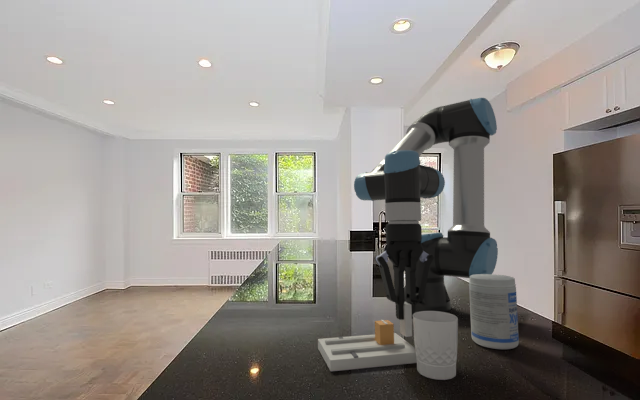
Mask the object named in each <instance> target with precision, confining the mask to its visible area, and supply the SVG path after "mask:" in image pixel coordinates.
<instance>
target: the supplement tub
mask: <svg viewBox="0 0 640 400" xmlns="http://www.w3.org/2000/svg"><path fill="white" fill-rule="evenodd" d="M516 285H517V284H516V280H515V278H514V276H511V275H504V274H494V273H492V274H475V275H471V276H470V278H469V282H468V287H469V289H468V290H469V291H468V292H469V310H470V313H469V314H470V332H471V333H470V334H471V339H472V341H473V342H474V343H475V344H477V345H479V346H481V347H483V348H488V349H495V350H511V349H515V348H517V347H518V346H519V344H520V341H519V340H520V338H519V337H520V336H519V319H518V318H519V316H518V301H517V299H518V298H517V296H518V295H517V287H516Z"/></svg>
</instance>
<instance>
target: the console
mask: <svg viewBox="0 0 640 400" xmlns="http://www.w3.org/2000/svg"><path fill="white" fill-rule="evenodd" d="M317 349H318V351H319V353H320V355H321V356H322V359H323V360H324V362H325V365H326V366H327V367H328V369H329V371H330V372H338V371H349V370H359V369H370V368H378V367H379V368H380V367H388V366H397V365H398V366H400V365H407V364H408V365H409V364H417V356H416V353H415V346H414V345H412V344H411V343H410V342H408V341H407V340H406V339H404V338H403V337H402V336H400V335H399V334H398V333H396V332H394V344H387V345H380V344H379V343H378V342H377V341H375V333H374V334H362V335H353V336H351V335H350V336H337V337H327V338H326V337H325V338H318V339H317Z"/></svg>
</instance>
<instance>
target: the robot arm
mask: <svg viewBox="0 0 640 400" xmlns="http://www.w3.org/2000/svg"><path fill="white" fill-rule="evenodd" d="M497 126H498V125H497V119H496V114H495V111H494V109H493V106H492V104H491V102H490V101H489V100H488V99H487V98H485V97H479V98H470V99H467V100H462V101H458V102H454V103H451V104H447V105H446V104H445V105H441V106H437V107H434V108H433V109H430V110H429V111H427V112H425V113H423V114H422V115H421V116H420V117H418V118H417V119H416V120H414V121H413V123H411V124H410V125H409V127H408V128H407V130H406V132H405V135H404V137H402V139H401V140H399V142H398V143H397V144H396V145H395V146H394V147H393V148H392V149H391V150H390V151H389V152H388V153H386V155H385V156H384V158H383V159H381V161H379V163H378V164H377V165H376V166H375V167H374V168H373V169H372V170H371V171H370V172H367V171H365V172H362V173H358V174H357V176H355V178H354V182H353V188H354V189H353V190H354V192H355V195H356V196H357V198H358V199H360V200H361V201H371V202H374V201H384V203H385V204H384V208H385V211H384V215H385V221H386V222H388V223H386V225H385V242H386V243H385V246H384V249H383V250H384V251H383V252H382V253H380V254H378V255H375V256H374V261H375V263H376V264H377V265H378V268H379V271H380V276H381V280H382V284H383V287H384V292H385V296H386V299H387V300H389V301H390V302H392V303H395V317H396V319H397V320H398V321H399V333H400V334H401V335H402V336H403V337H405V338H407V337H408V338H409V337H413V314H414V313H416V312H420V311H440V312H446V313H448V312H449V311H451V309H452V301H451V298H450V296H449V293H448V290H447V287H446V285H445V277H455V278H466V279H470V276H471V275H475V274H494V272H495V268H496V266H497V261H498V254H499V253H498V251H499V250H498V242H497V240H496V239H495V238H493V237H491V232H490V230H489V229H487V228H486V226H485V148H486V147H487V146H488V145H489V144H490V141H491V140H490V138H491V137H490V136H494V135H495V134H496V133H497V130H498V129H497V128H498V127H497ZM441 143H448V146H449V147H451V149H453V186H452V187H453V188H452V189H453V191H452V192H453V193H452V195H453V196H452V197H453V198H452V201H453V203H452V204H453V205H452V207H453V208H452V226H451V227H449V229H448V230H447V237H444V235H443V233H442V232H433V233H425V234H422V233H423V231H422V225H421V223H419V222H420V221H422V203H421V200H422V199H433V198H436V197H439V196H440V194H441V193H442V192H443V191H444V189H445V185H446V181H445V177H444V175H443V173H442V172H441V171H439V169H436V168H434V167H432V166H426V165H422V164H421V161H420V157H421V155H422V154H423V153H424V152H425V151H427V150H429V149H431V148H432V147H433V146H435V145H437V144H441ZM388 259H389V260H388ZM389 261H390V262H391V264H392V270H393V278H392V275H391V272H390V267H389V264H388V262H389Z"/></svg>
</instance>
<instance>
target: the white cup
mask: <svg viewBox="0 0 640 400" xmlns="http://www.w3.org/2000/svg"><path fill="white" fill-rule="evenodd" d="M458 328H459V319H458V316H456V315H455V314H452V313H450V312H440V311H420V312H415V313H414V314H413V319H412V329H413V340H414V342H413V343H414V347H415V353H416V356H417V363H416V371H417V372H418V374H419V375H422V376H423V377H424V378H428V379H432V380H436V381H437V380H439V381H446V380H451V379H454V378H455V377H456V376H457V360H458V341H459V340H458V338H459V337H458V335H459V334H458V333H459V331H458Z"/></svg>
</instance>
